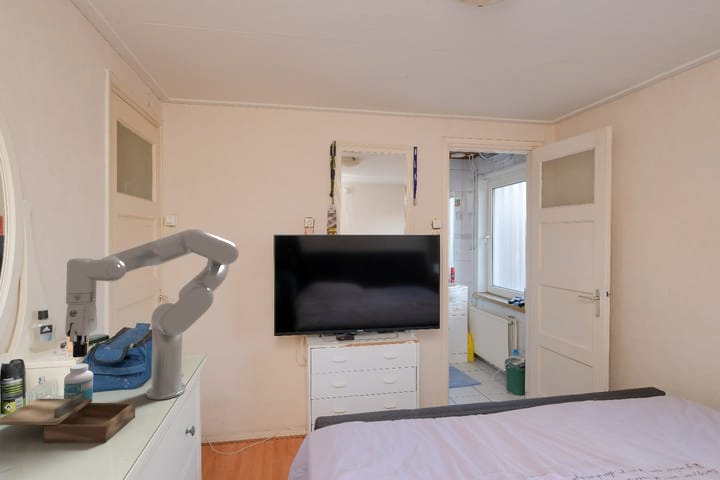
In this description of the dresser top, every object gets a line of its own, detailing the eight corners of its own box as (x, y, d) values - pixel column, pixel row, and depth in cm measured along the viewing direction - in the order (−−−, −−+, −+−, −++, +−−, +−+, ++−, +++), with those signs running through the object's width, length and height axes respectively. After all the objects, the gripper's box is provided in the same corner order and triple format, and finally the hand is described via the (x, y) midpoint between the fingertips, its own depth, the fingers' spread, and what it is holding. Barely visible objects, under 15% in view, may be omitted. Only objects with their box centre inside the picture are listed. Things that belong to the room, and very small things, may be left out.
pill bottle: (57, 411, 115) (58, 368, 115) (82, 401, 122) (82, 360, 122) (74, 415, 113) (75, 371, 113) (98, 405, 120) (99, 363, 120)
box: (81, 417, 112) (81, 402, 112) (135, 417, 113) (135, 402, 113) (43, 442, 98) (44, 426, 98) (105, 442, 99) (106, 426, 99)
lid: (37, 401, 111) (37, 390, 111) (92, 401, 112) (92, 390, 112) (-7, 424, 97) (-7, 412, 97) (56, 424, 98) (56, 412, 98)
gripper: (83, 301, 108) (82, 363, 108) (105, 294, 123) (103, 348, 123) (53, 302, 107) (52, 365, 107) (79, 294, 121) (77, 349, 121)
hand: (79, 356), depth 115 cm, fingers closed
